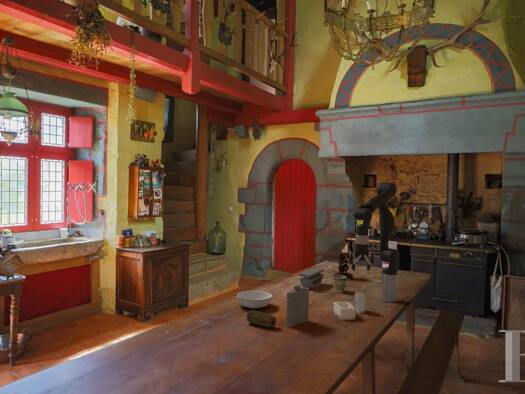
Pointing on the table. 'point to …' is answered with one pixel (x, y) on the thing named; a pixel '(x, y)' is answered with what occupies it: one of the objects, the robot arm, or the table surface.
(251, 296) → the serving bowl
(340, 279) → the ceramic cup
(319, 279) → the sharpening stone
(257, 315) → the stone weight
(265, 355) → the table surface
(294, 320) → the hip flask
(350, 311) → the hollow off-white angular block
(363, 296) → the tall brushed metal block
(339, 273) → the black knobby tall piece
